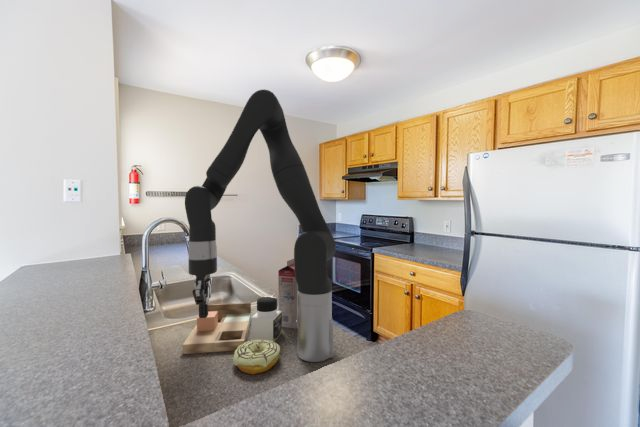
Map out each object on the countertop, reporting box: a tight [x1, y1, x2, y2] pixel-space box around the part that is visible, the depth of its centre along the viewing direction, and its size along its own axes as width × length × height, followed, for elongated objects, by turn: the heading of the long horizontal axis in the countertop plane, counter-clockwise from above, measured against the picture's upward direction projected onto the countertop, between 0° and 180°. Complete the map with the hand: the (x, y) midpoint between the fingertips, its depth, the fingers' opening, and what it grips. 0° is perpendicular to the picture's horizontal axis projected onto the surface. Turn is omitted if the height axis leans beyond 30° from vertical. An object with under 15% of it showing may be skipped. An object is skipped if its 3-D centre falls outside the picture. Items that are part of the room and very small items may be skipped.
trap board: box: [182, 302, 252, 355], centre depth 87 cm, size 16×22×6 cm
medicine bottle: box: [250, 295, 283, 343], centre depth 85 cm, size 7×7×12 cm
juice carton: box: [277, 258, 298, 330], centre depth 95 cm, size 7×7×22 cm
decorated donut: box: [232, 339, 281, 375], centre depth 71 cm, size 11×12×4 cm
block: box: [196, 311, 218, 331], centre depth 86 cm, size 5×5×4 cm
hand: (203, 316), depth 80 cm, fingers closed
